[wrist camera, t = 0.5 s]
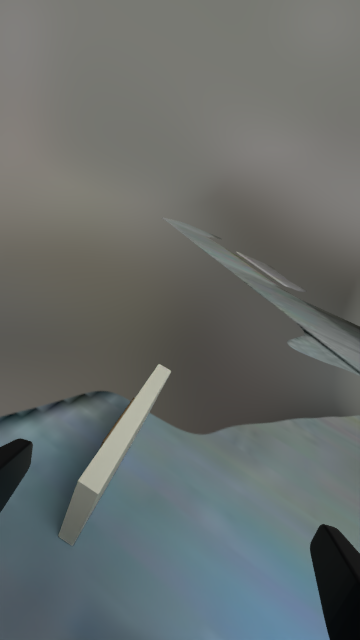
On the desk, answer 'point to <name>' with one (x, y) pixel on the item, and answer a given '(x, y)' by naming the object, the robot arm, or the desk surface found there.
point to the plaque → (110, 457)
